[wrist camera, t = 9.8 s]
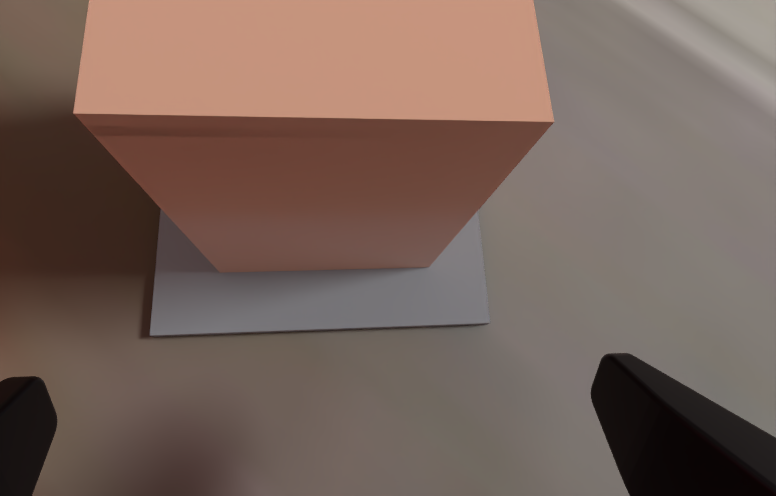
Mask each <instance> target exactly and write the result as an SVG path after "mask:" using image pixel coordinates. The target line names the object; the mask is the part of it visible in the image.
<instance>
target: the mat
mask: <svg viewBox="0 0 776 496" xmlns="http://www.w3.org/2000/svg"><path fill="white" fill-rule="evenodd" d="M489 323H490V316H489V306H488V297H487V288H486V279H485V270H484V261H483V252H482V243H481V234H480V225H479V215H478V211H477V212H476V213H475V214H474V216H473V217H472V218H471V219H470V220H469V221H468V223H467V224H466V225H465V226H464V227H463V228H462V230H461V231H460V232H459V233H458V234H457V235H456V236H455V238H454V239H453V240H452V241H451V242H450V243H449V245H448V246H447V247H446V248H445V249H444V250H443V252H442V253H441V254H440V255H439V256H438V257H437V259H436V260H435V261H434V262H433V263H432V264H431V266H430V267H421V268H382V269H343V270H303V271H264V272H225V273H220V272H219V271H218V270H217V269H216V268H215V267H214V266H213V265H212V264H211V262H210V261H209V260H208V259H207V258H206V257H205V256H204V255H203V254H202V253H201V252H200V250H199V249H198V248H197V247H196V246H195V245H194V244H193V243H192V242H191V241H190V240H189V239H188V237H187V236H186V235H185V234H184V233H183V232H182V231H181V230H180V229H179V228H178V227H177V226H176V224H175V223H174V222H173V221H172V220H171V219H170V218H169V217H168V216H167V215H166V214H165V212H164V211H163V210H162V209H161V210H160V221H159V233H158V245H157V256H156V268H155V280H154V291H153V303H152V314H151V326H150V336H153V337H161V336H188V335H215V334H242V333H269V332H296V331H323V330H350V329H377V328H404V327H430V326H457V325H484V324H489Z"/></svg>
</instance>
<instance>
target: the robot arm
mask: <svg viewBox="0 0 776 496" xmlns="http://www.w3.org/2000/svg"><path fill="white" fill-rule="evenodd" d="M591 399H592V403H593V406H594V408H595V411H596V413H597V416H598V419H599V421H600V424H601V426H602V429H603V431H604V434H605V436H606V439H607V442H608V444H609V447H610V449H611V452H612V454H613V457H614V459H615V462H616V465H617V467H618V470H619V472H620V475H621V477H622V479H623V482H624V484H625V486H626V488H627V490H628V493H629V495H630V496H776V438H775V437H774V436H772V435H770V434H768V433H767V432H765V431H763V430H761V429H760V428H758V427H756V426H755V425H753V424H751V423H749V422H748V421H746V420H744V419H742V418H741V417H739V416H737V415H735V414H734V413H732V412H730V411H728V410H727V409H725V408H723V407H722V406H720V405H718V404H716V403H715V402H713V401H711V400H709V399H708V398H706V397H704V396H702V395H701V394H699V393H697V392H696V391H694V390H692V389H690V388H689V387H687V386H685V385H683V384H682V383H680V382H678V381H676V380H675V379H673V378H671V377H669V376H668V375H666V374H664V373H663V372H661V371H659V370H657V369H656V368H654V367H652V366H650V365H649V364H647V363H645V362H643V361H642V360H640V359H638V358H637V357H635V356H633V355H631V354H628V353H611V354H606V355H604V356H603V357H602V359H601V361H600V364H599V367H598V370H597V373H596V376H595V379H594V381H593V384H592V388H591ZM56 427H57V415H56V412H55V409H54V406H53V404H52V401H51V398H50V396H49V393H48V391H47V388H46V385H45V383H44V381H43V380H42V379H41V378H39V377H36V376H29V377H11V378H7V379H4V380H3V381H1V382H0V496H32V494H33V491H34V489H35V486H36V483H37V480H38V478H39V475H40V472H41V470H42V467H43V464H44V461H45V459H46V456H47V453H48V451H49V448H50V445H51V443H52V440H53V437H54V434H55V431H56Z"/></svg>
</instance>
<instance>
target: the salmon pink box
mask: <svg viewBox="0 0 776 496" xmlns="http://www.w3.org/2000/svg"><path fill="white" fill-rule="evenodd" d="M73 114H74V115H75V116H76V117H77V118H78V119H79V120H80V121H81V122H82V123H83V125H84V126H85V127H86V128H87V129H88V130H89V131H90V132H91V133H92V134H93V135H94V136H95V138H96V139H97V140H98V141H99V142H100V143H101V144H102V145H103V146H104V147H105V148H106V150H107V151H108V152H109V153H110V154H111V155H112V156H113V157H114V158H115V159H116V160H117V161H118V163H119V164H120V165H121V166H122V167H123V168H124V169H125V170H126V171H127V172H128V173H129V174H130V176H131V177H132V178H133V179H134V180H135V181H136V182H137V183H138V184H139V185H140V186H141V188H142V189H143V190H144V191H145V192H146V193H147V194H148V195H149V196H150V197H151V198H152V199H153V201H154V202H155V203H156V204H157V205H158V206H159V207H160V208H161V209H162V210H163V211H164V212H165V214H166V215H167V216H168V217H169V218H170V219H171V220H172V221H173V222H174V223H175V224H176V226H177V227H178V228H179V229H180V230H181V231H182V232H183V233H184V234H185V235H186V236H187V237H188V239H189V240H190V241H191V242H192V243H193V244H194V245H195V246H196V247H197V248H198V249H199V250H200V252H201V253H202V254H203V255H204V256H205V257H206V258H207V259H208V260H209V261H210V262H211V264H212V265H213V266H214V267H215V268H216V269H217V270H218V271H219V272H220V273H225V272H264V271H303V270H343V269H382V268H421V267H430V266H431V264H432V263H433V262H434V261H435V260H436V259H437V257H438V256H439V255H440V254H441V253H442V252H443V250H444V249H445V248H446V247H447V246H448V245H449V243H450V242H451V241H452V240H453V239H454V238H455V236H456V235H457V234H458V233H459V232H460V231H461V230H462V228H463V227H464V226H465V225H466V224H467V223H468V221H469V220H470V219H471V218H472V217H473V216H474V214H475V213H476V212H477V211H478V210H479V209H480V207H481V206H482V205H483V204H484V203H485V202H486V200H487V199H488V198H489V197H490V196H491V195H492V193H493V192H494V191H495V190H496V189H497V188H498V186H499V185H500V184H501V183H502V182H503V181H504V180H505V178H506V177H507V176H508V175H509V174H510V173H511V171H512V170H513V169H514V168H515V167H516V166H517V164H518V163H519V162H520V161H521V160H522V159H523V157H524V156H525V155H526V154H527V153H528V152H529V150H530V149H531V148H532V147H533V146H534V145H535V143H536V142H537V141H538V140H539V139H540V138H541V136H542V135H543V134H544V133H545V132H546V131H547V130H548V128H549V127H550V126H551V125H552V124H553V123H554V119H553V113H552V107H551V101H550V95H549V90H548V84H547V78H546V72H545V66H544V60H543V55H542V49H541V43H540V37H539V31H538V25H537V20H536V14H535V8H534V2H533V0H89V6H88V13H87V20H86V27H85V34H84V41H83V49H82V56H81V63H80V70H79V77H78V84H77V91H76V98H75V105H74V112H73Z"/></svg>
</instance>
